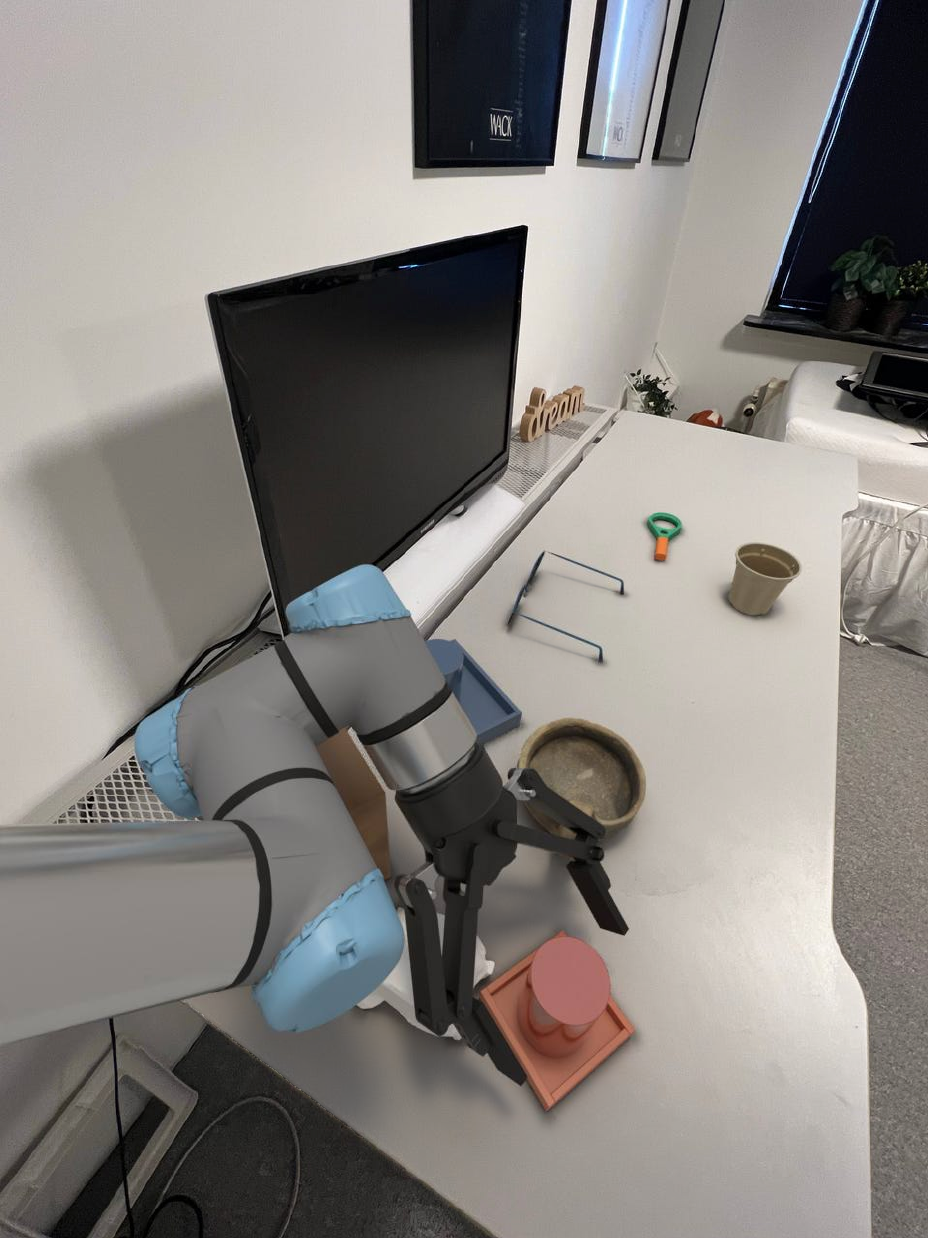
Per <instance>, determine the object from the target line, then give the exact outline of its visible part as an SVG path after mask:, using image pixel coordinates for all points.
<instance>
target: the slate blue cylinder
mask: <svg viewBox="0 0 928 1238" xmlns="http://www.w3.org/2000/svg"><path fill="white" fill-rule="evenodd" d="M424 641H425V643H426V645H427V647H428V648H429V650H430V652H431V654H432V656H433V658H434V659H435V661H436V663H437V665H438V667H439V669H440V671H441V672H442V674H443V676H444V678H445V680H446V681H447V683H448V685H449V687H450V689H451V690H452V692H453V693H454V695H455V697H456V699H457V700H458V702H459V704H460V701H461V687H462V674H463V660H464V656H463V652H462V651H461V649H460V648H459V647H458V646H457V645H456V644H455V643H453V642H451V641H452V640H448V639H443V638H431V639H427V640H424Z"/></svg>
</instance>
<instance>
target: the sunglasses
mask: <svg viewBox="0 0 928 1238" xmlns="http://www.w3.org/2000/svg"><path fill="white" fill-rule="evenodd" d="M546 553H548V554H551V555H553V556H555V557H558V558H560V559H563V560H565V561H567V562H570V563H572V564H575V565H577V566H580V567H582V568H586V569H587V570H591V571H593V572H596V573H597V574H598V573H599V574H601V575H603V576H606V577H609V578H612V579H614V580H616V581H618V582H620V591H619V594H620V595H622V596H623V595H625V584H624V583H625V582H624V580H623V579H622V578H619V577H618V576H615V575H612V574H609V573H608V572H604V571H602V570H599V569H598V568H597V569H596V568H594V567H591V566H589V565H586V564H583V563H581V562H578V561H576V560H573V559H570V558H568V557H566V556H562V555H560V554H556V553H554V552H551V551H546V550H543V551H542V552H541V554H539V556H538V558H537V559H536V561H535V562H534V565H533V567H532V569H531V572H530V574H529V577H528V580H527V582H526V584H524V585H523V586H522V587H521V589H520V591H519V593H518V595H517V597H516V600H515V603H514V606H513V609H512V612H511V614H510V617H509V618H508V621H507V623H506V624H507V625H506V626H507V627H509V625H510V624H511V621H512V620H513V617H514V616H515V614H517V615H518V616H520V617H523V618H524V619H526V620H529V621H532V622H534V623H536V624H538V625H541V626H543V627H546V628H549V629H551V630H552V631H556V632H559V633H560V634H563V635H565V636H568V637H571V638H572V639H576V640H578V641H580V642H582V643H585V644H587V645H590V646H593V647H594V648H597V649H599V653H598V662H599V663H603V662H604V654H603V647H601V645H599V644H596V643H594V642H591V641H589V640H587V639H585V638H582V637H579V636H577V635H574V634H572V633H570V632H567V631H564V630H562V629H560V628H558V627H555V626H552V625H551V624H548V623H545V622H542V621H540V620H537V619H534V618H532V617H529V616H528V615H527V616H526V615H523V614H521V613H519V612H518V613H517V612H516V611H517V609H518V607H519V604H520V602H521V600H522V597H523V598H527V597H528V594H529V592H528V591H530V590H531V588H532V586H531V583H532V581H533V579H534V577H535V575H536V574H537V571H538V570H539V567H540V565H541V563H542V561H543V558H544V556H545V554H546Z"/></svg>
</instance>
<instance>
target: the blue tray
mask: <svg viewBox="0 0 928 1238" xmlns="http://www.w3.org/2000/svg"><path fill="white" fill-rule="evenodd" d="M450 641H451V642H453V643H455V644H456V645H457V646H458V647H459V648H460V649H461V651H462V652H463V656H464V660H463V674H462V687H461V701H460V705H461V707H462V709H463V711H464V712H465V714H466V716H467V717H468V719H469V721H470V722H471V724H472V726H473V728H474V729H475V731H476V733H477V737H476V741H475V742H477V743H480V744H482V745H483V746H484V745H485V744H487V743H489V742H491V741H492V740H495V739H497V738H498V737H500V736H503V735H505V734H506V733H508V732H510V731H512V730H514V729H515V728H518V727H519V726H520V725H521V722H522V721H521V720H522V715H523V712H522V711H521V710H520V709H519V708H518V706H517V705H516V704H515V703H514V702H513V701H512V699H510V698H509V696H508V695H507V694H506V693H505V692H504V691H503V690H502V689H501V688H500V686H498V685H497V683H496V682H495V681H494V680H493V679H492V678H491V676H490V675H488V673H487V672H486V671H485V670H484V669H483V668H482V667H481V666H480V664H479V663H478V662H476V660H475V659H474V658H473V657H472V656H471V655H470V654H469V652H468V651H467V650H466V648H464V647H463V646H462V645H461V644H460V643H459V641H458V640H457V639H456V638H454V639H451V640H450Z"/></svg>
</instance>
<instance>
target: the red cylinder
mask: <svg viewBox="0 0 928 1238" xmlns="http://www.w3.org/2000/svg"><path fill="white" fill-rule="evenodd" d="M539 947H540V948H539ZM539 947H538V948H539V949H538V948H537V949H538V950H537V949H536V950H537V952H536V953H535V955H534V958H533V960H532V963H531V966H530V969H529V971H528V974H527V977H526V980H525V983H524V986H523V989H522V992H521V995H520V997H519V1001H518V1006H517V1018H518V1023H519V1027H520V1030H521V1032H522V1034H523V1036H524V1038H525V1039H526V1041H527V1042H528V1044H529V1045H530V1046H531V1047H532V1048H533V1049H534V1050H536V1051H537V1052H538V1053H540V1054H542V1055H544V1056H547V1057H550V1058H564V1057H567V1056H569V1055H571V1054H573V1053H574V1052H576V1051H577V1050H578V1049H579V1048H580V1046H581V1045H582V1043H583V1042H584V1040H585V1039H586V1037H587V1036H588V1034H589V1033H590V1031H591V1030H592V1028H593V1027H594V1025H595V1024H596V1022H597V1021H598V1019H599V1018H600V1016H601V1015H602V1013H603V1012H604V1010H605V1009H606V1007H607V1005H608V1002H609V998H610V996H611V978H610V974H609V970H608V968H607V966H606V963H605V962H604V959H603V958H602V956H601V955H600V954H599V953H598V952H597V950H596V949H594V947H592V946H591V945H590V944H589V943H587V942H585V941H584V940H582V939H580V938H577V937H574V936H568V935H566V936H561V937H555V938H553V937H552V938H550V939H548V940H546V941H545V942H544V943H543V944H541V945H540V946H539Z"/></svg>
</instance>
